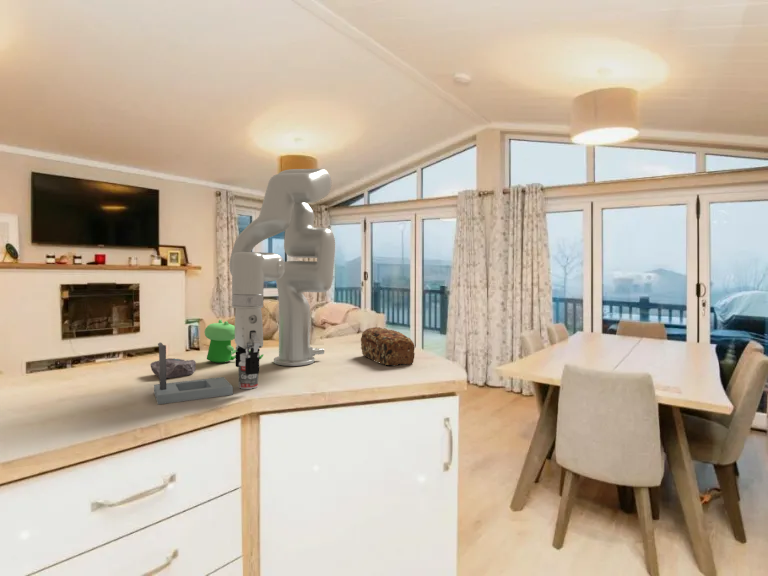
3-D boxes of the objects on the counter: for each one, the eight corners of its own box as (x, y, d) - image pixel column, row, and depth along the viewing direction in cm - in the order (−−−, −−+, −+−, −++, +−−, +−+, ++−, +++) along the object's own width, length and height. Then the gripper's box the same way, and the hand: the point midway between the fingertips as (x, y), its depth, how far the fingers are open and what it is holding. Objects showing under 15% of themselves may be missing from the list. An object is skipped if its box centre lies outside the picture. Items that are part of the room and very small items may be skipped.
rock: (201, 375, 130) (201, 358, 129) (157, 381, 122) (157, 364, 122) (191, 370, 136) (191, 354, 136) (148, 376, 128) (148, 359, 128)
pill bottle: (239, 390, 115) (239, 356, 114) (237, 385, 119) (237, 353, 118) (259, 388, 117) (259, 355, 116) (256, 383, 121) (256, 351, 120)
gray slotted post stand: (223, 384, 120) (222, 337, 119) (232, 394, 111) (232, 344, 110) (153, 392, 112) (153, 342, 111) (158, 404, 103) (157, 350, 102)
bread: (359, 356, 158) (360, 327, 157) (387, 353, 163) (388, 325, 162) (386, 367, 141) (386, 335, 141) (416, 364, 146) (416, 333, 146)
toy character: (264, 362, 151) (267, 322, 151) (209, 365, 139) (212, 322, 139) (251, 357, 158) (254, 319, 158) (197, 360, 146) (200, 318, 146)
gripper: (273, 303, 111) (272, 375, 111) (253, 299, 126) (252, 362, 126) (241, 304, 107) (240, 378, 107) (224, 299, 122) (223, 365, 122)
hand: (246, 370), depth 117 cm, fingers open, 9 cm apart
